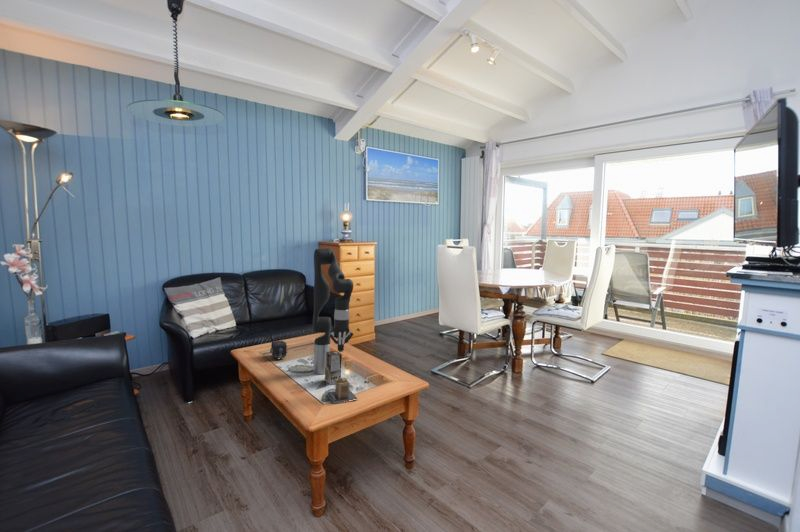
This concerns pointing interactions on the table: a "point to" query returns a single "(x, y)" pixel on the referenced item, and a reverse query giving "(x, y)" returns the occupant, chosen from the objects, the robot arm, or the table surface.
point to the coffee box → (333, 366)
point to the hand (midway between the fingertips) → (340, 351)
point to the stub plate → (335, 399)
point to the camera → (278, 349)
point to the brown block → (342, 388)
